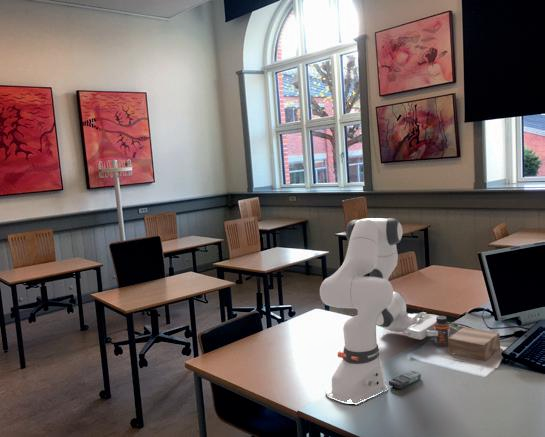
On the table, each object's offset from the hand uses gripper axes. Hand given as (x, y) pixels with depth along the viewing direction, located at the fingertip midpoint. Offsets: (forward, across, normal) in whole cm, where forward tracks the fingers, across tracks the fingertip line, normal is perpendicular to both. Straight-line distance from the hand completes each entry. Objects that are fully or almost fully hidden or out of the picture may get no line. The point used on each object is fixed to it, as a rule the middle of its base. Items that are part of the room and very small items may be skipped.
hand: (444, 330), depth 198 cm
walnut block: (+12, 0, +6) cm, 14 cm away
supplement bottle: (-1, 0, +6) cm, 6 cm away
